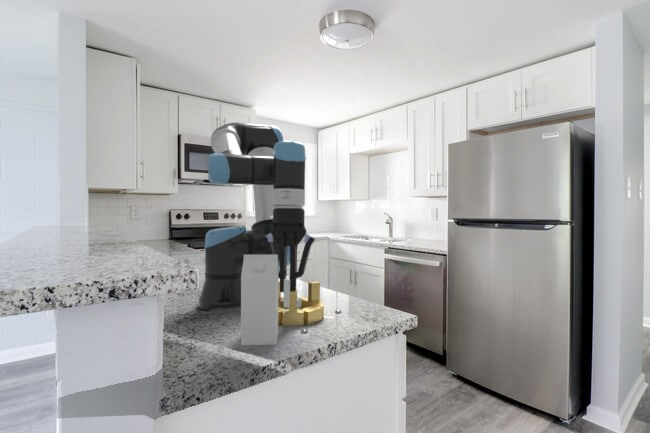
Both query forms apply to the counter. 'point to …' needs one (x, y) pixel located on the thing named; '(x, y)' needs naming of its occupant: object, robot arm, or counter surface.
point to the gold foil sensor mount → (310, 307)
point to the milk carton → (259, 300)
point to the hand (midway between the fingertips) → (287, 305)
